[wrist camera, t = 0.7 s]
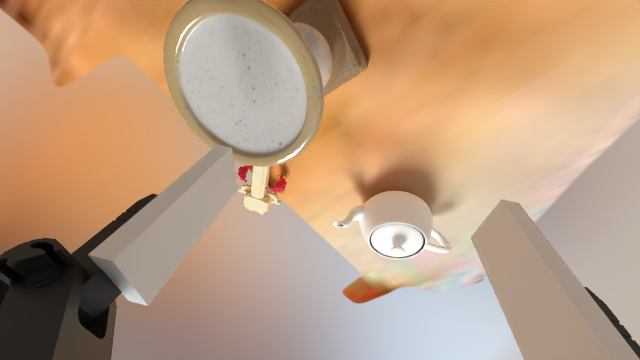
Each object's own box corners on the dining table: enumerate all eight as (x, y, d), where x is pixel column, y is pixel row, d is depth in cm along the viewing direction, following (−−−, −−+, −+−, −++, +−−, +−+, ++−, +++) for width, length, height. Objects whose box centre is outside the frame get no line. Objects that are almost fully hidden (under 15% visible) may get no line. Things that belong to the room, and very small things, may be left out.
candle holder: (330, -18, 28) (238, -93, 9) (369, 65, 33) (363, 132, 14) (267, 38, 33) (122, 64, 14) (309, 103, 37) (241, 191, 18)
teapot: (460, 199, 42) (482, 245, 34) (425, 243, 51) (436, 289, 42) (347, 168, 43) (341, 205, 35) (331, 216, 51) (322, 255, 43)
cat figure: (252, 94, 40) (240, 200, 53) (226, 105, 33) (220, 225, 46) (305, 112, 40) (280, 213, 53) (292, 127, 33) (266, 240, 46)
